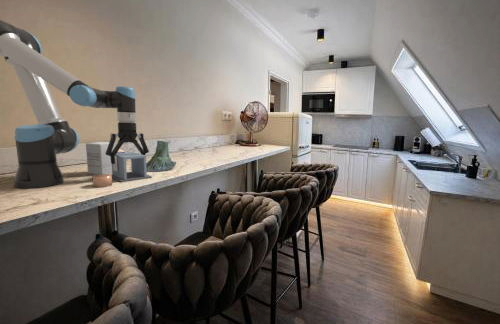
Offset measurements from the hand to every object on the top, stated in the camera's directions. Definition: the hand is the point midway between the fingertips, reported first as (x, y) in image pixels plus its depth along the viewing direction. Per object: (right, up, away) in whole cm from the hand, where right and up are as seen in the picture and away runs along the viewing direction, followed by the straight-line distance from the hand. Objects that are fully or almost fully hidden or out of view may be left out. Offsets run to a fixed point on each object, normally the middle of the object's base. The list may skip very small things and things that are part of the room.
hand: (129, 169), depth 116 cm
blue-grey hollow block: (0, -3, 0) cm, 3 cm away
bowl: (-3, -6, -15) cm, 17 cm away
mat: (0, -4, +1) cm, 4 cm away
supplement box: (-17, -2, +7) cm, 18 cm away
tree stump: (+5, 0, +23) cm, 24 cm away
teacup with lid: (-17, 0, +23) cm, 29 cm away
